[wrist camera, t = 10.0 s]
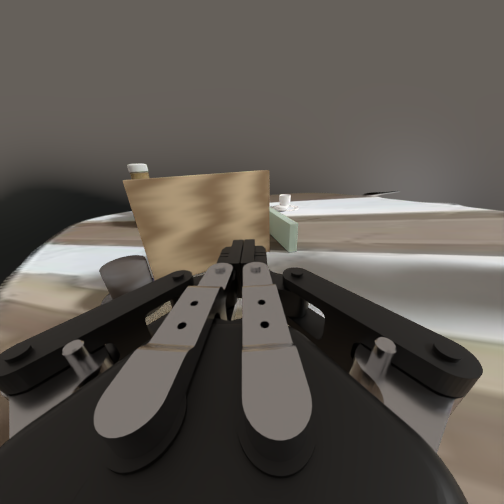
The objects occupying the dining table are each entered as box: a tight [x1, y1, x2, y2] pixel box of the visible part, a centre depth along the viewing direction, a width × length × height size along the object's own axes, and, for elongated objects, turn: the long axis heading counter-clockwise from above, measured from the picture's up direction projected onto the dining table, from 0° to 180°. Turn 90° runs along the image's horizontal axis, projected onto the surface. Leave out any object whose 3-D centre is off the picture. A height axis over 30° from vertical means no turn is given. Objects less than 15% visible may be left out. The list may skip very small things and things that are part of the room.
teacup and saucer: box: [271, 194, 299, 211], centre depth 53 cm, size 9×8×4 cm
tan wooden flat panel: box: [99, 170, 270, 300], centre depth 19 cm, size 18×4×10 cm, turn 121°
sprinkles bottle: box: [127, 164, 149, 180], centre depth 52 cm, size 5×5×13 cm
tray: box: [269, 207, 298, 252], centre depth 33 cm, size 18×18×4 cm
